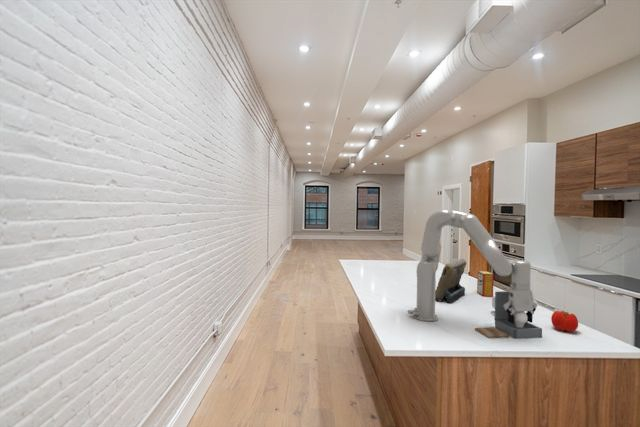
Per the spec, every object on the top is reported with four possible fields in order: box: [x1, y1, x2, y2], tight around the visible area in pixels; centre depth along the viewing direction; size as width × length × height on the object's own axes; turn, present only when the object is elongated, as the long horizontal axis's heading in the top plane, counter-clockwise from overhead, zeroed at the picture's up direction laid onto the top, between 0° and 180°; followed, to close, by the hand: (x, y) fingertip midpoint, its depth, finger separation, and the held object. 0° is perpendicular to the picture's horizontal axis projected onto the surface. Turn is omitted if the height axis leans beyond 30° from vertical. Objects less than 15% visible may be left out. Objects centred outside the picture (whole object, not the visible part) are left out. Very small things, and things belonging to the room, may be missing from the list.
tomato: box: [550, 310, 579, 333], centre depth 155 cm, size 11×11×9 cm
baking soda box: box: [476, 270, 495, 298], centre depth 217 cm, size 10×6×16 cm
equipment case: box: [494, 290, 543, 339], centre depth 151 cm, size 14×14×18 cm
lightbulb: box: [513, 311, 528, 329], centre depth 150 cm, size 6×6×11 cm
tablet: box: [435, 258, 467, 304], centre depth 210 cm, size 33×14×25 cm, turn 145°
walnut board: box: [474, 326, 509, 339], centre depth 149 cm, size 10×10×1 cm
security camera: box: [490, 295, 495, 317], centre depth 176 cm, size 6×7×10 cm
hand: (520, 322), depth 150 cm, fingers open, 9 cm apart
